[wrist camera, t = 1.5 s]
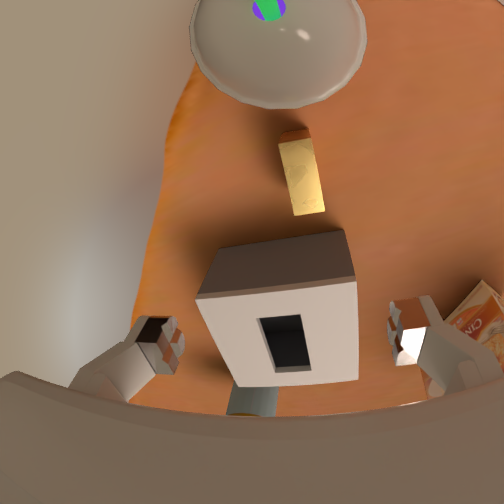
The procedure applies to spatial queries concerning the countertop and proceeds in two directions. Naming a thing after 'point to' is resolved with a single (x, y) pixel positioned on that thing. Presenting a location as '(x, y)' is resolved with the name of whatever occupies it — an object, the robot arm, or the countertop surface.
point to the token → (301, 172)
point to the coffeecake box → (476, 327)
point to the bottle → (252, 401)
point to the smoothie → (278, 48)
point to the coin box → (284, 310)
